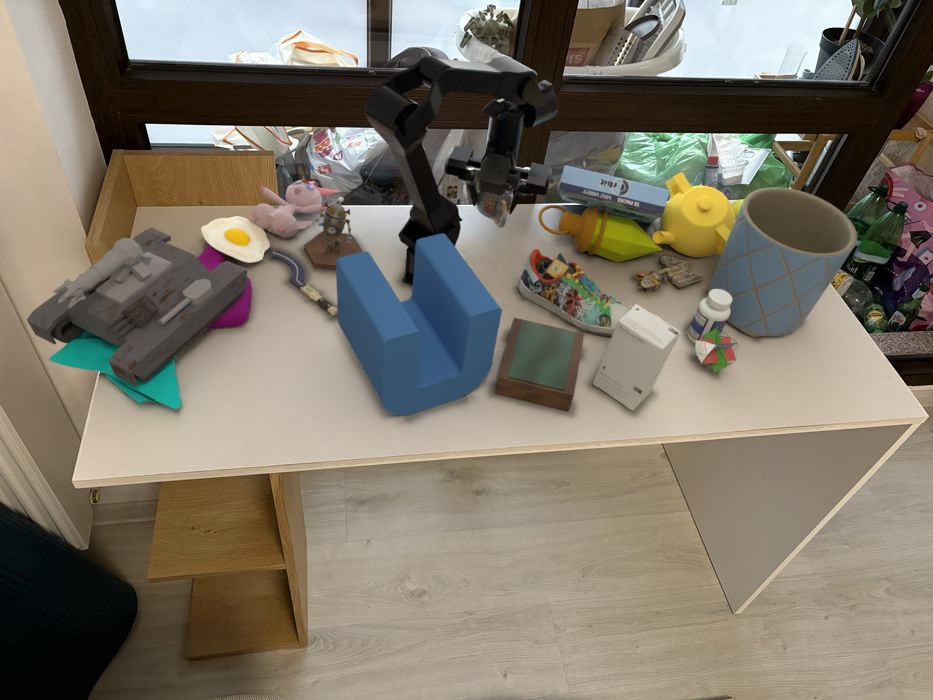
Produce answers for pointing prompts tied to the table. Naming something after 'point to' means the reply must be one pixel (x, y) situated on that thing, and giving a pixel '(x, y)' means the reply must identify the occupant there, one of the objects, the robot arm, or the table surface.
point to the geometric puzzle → (715, 350)
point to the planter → (781, 259)
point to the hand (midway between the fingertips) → (492, 209)
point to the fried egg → (237, 238)
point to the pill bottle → (710, 314)
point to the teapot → (695, 219)
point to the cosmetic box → (635, 356)
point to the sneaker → (569, 294)
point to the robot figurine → (332, 238)
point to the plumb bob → (603, 233)
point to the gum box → (612, 194)
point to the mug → (495, 206)
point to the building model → (667, 275)
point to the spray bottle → (242, 307)
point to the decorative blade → (297, 280)
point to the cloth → (96, 355)
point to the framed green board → (540, 364)
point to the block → (419, 327)
